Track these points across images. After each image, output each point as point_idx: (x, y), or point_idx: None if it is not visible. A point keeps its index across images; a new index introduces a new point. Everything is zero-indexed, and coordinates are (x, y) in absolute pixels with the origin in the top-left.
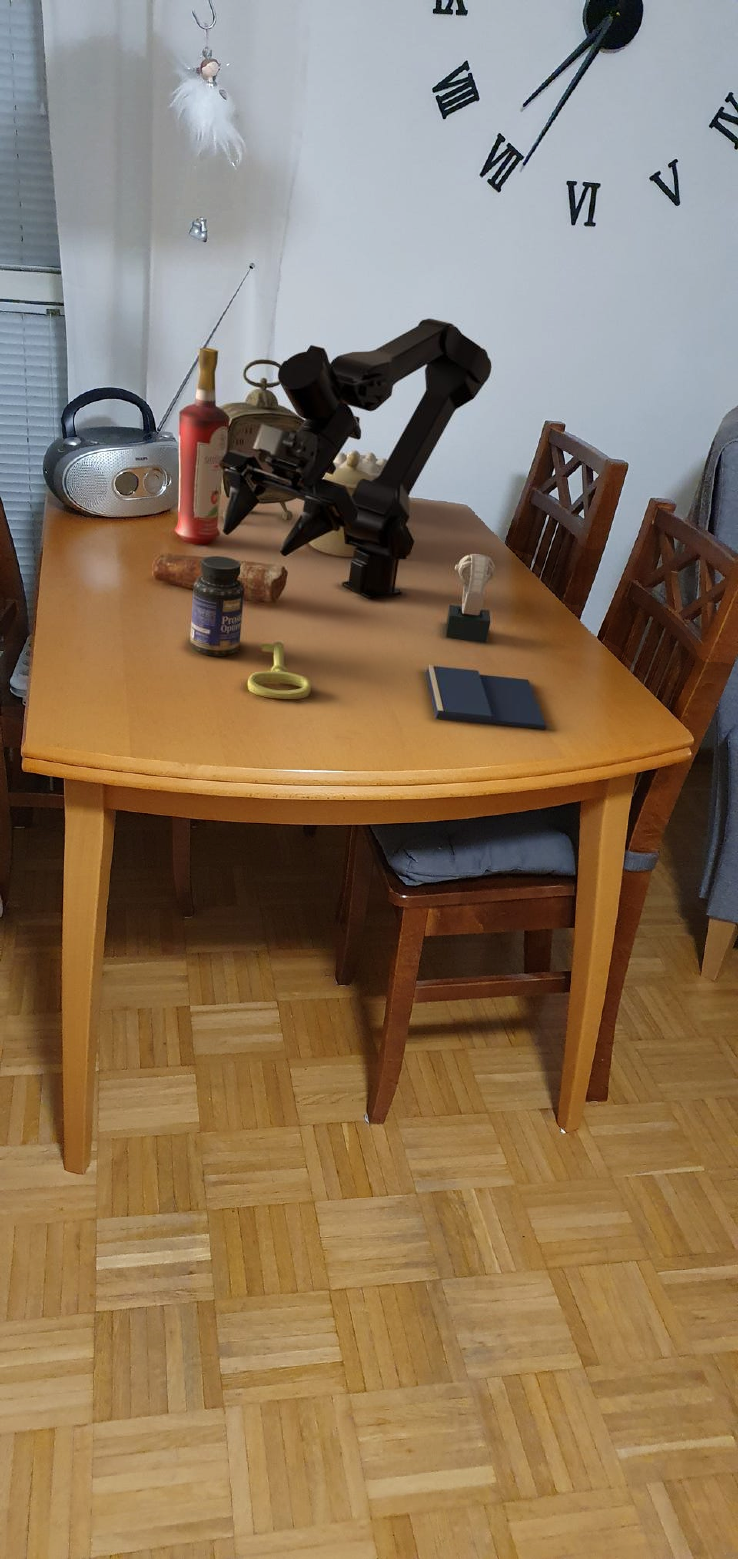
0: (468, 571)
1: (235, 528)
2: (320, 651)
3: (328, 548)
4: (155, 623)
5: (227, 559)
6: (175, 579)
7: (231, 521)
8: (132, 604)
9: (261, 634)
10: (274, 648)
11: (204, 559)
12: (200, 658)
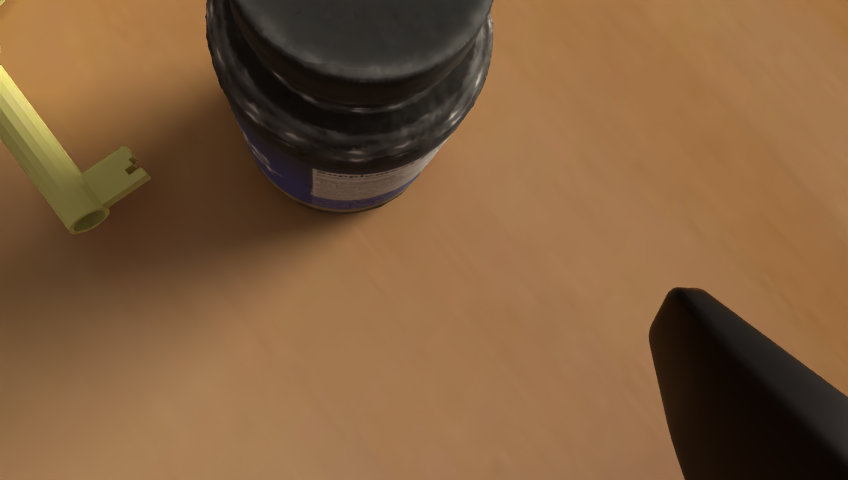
0: None
1: (673, 441)
2: (16, 434)
3: None
4: (621, 144)
5: (377, 33)
6: None
7: (717, 382)
8: (784, 218)
9: (303, 376)
10: (76, 173)
11: None
12: None
